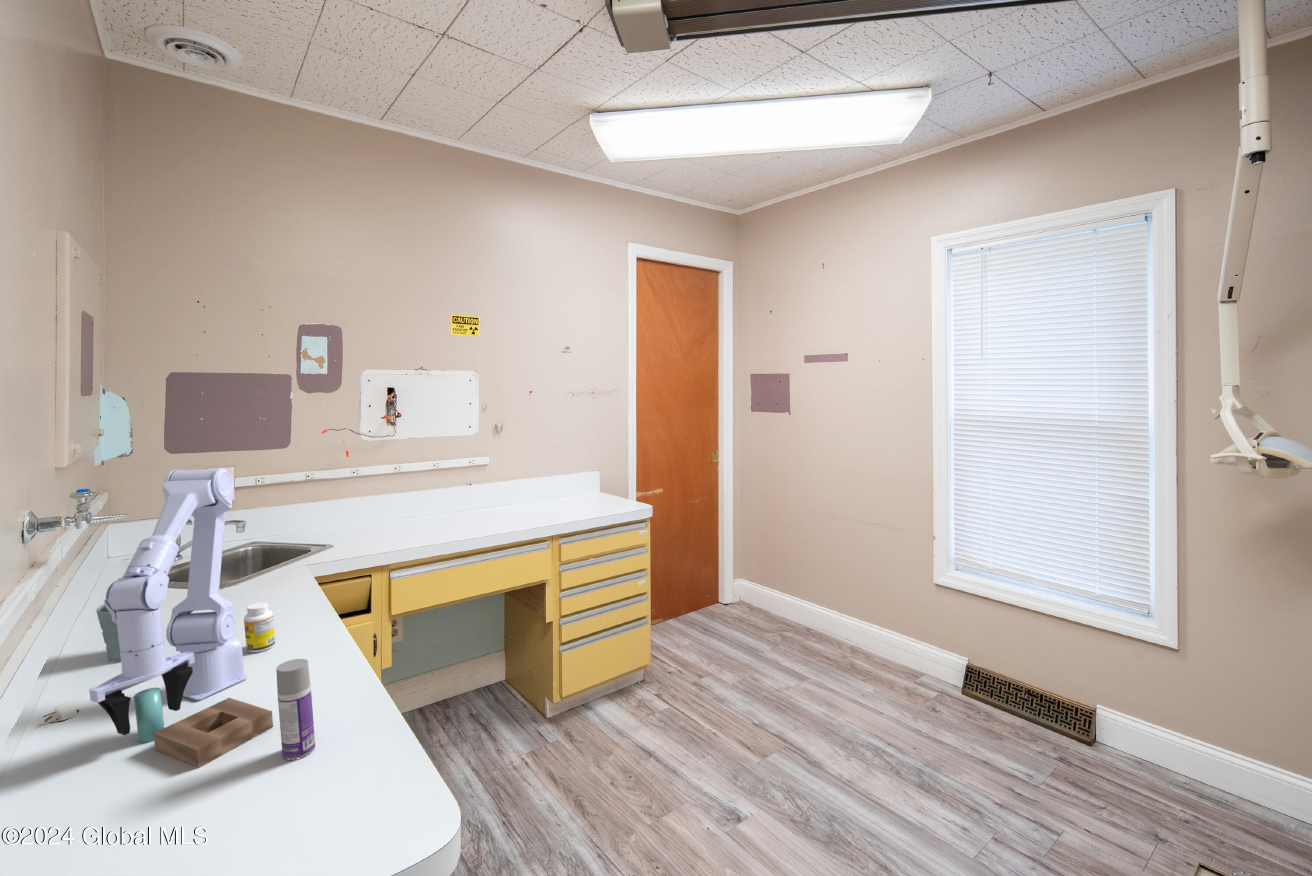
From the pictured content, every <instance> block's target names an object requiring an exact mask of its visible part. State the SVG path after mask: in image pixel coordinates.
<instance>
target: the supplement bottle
mask: <svg viewBox="0 0 1312 876" xmlns="http://www.w3.org/2000/svg"><path fill="white" fill-rule="evenodd" d="M246 609H247V611H246V613H247V614H245V616H244V617H243V624H244V636H245V646H246V650H247V652H249V653H251V654H252V653H253V654H255V653H262V652H266V651H269V650H271V648H273V647H274V646H275V644H276V635H275V634H276V633H275V624H274V623H275V622H274V613H273V611H272V610H270V609H269V604H268V602H257V603H253V604H250V605H248V606H247V608H246Z"/></svg>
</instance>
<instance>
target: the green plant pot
mask: <svg viewBox="0 0 1312 876" xmlns="http://www.w3.org/2000/svg"><path fill="white" fill-rule="evenodd" d="M96 615H97V619H98V622H99V626H100V629H101V630H102V632H101V635H102V638H103V642H104V644H105V650H106V655H107V658H108V661H109V660H110V661H109V662H111V661H114V662H113V663H121V656H120V647H119V638H118V628H117V623H114V621H112V615H111V613H110V612H109V611H108V610H107V608H106V607H105V604H102V605H100V606H98V607H97V608H96Z"/></svg>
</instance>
